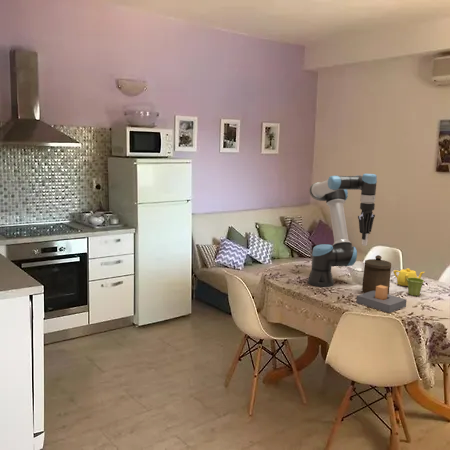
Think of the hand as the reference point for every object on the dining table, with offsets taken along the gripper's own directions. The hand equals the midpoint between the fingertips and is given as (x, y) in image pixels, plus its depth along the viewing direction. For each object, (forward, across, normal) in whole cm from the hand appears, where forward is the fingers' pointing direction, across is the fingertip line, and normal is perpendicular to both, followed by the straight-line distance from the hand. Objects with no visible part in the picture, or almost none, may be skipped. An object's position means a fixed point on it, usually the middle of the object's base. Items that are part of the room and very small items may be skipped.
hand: (364, 245), depth 284 cm
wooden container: (+30, +13, -1) cm, 32 cm away
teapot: (+30, +43, -4) cm, 52 cm away
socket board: (+29, -3, -15) cm, 33 cm away
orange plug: (+28, -3, -15) cm, 32 cm away
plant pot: (+30, +29, -16) cm, 44 cm away
